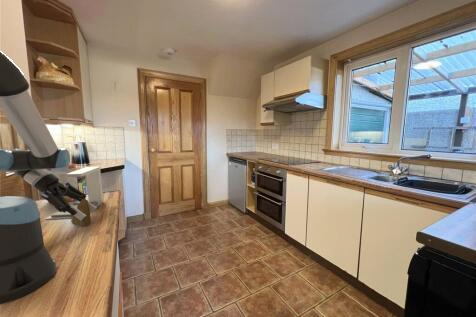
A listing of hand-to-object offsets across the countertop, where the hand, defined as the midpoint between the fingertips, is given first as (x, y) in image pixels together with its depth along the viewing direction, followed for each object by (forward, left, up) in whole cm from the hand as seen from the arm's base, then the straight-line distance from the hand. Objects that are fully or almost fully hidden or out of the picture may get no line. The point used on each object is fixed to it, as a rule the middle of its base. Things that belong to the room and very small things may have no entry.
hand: (89, 213), depth 90 cm
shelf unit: (+15, +14, -4) cm, 21 cm away
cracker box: (+32, +30, -4) cm, 44 cm away
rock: (-1, +3, -4) cm, 5 cm away
